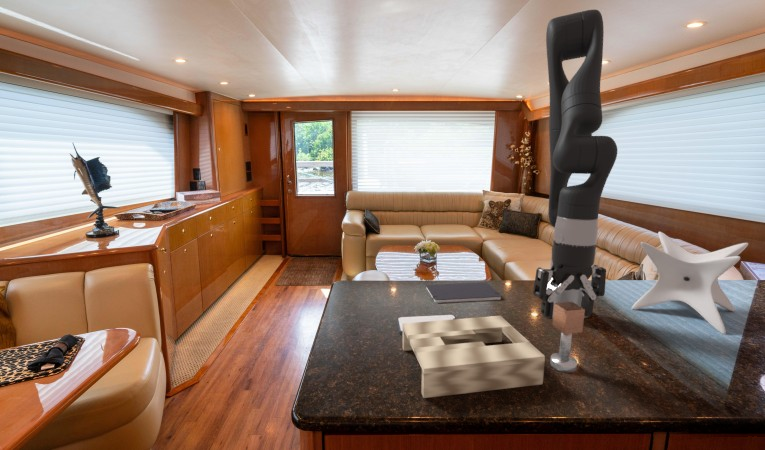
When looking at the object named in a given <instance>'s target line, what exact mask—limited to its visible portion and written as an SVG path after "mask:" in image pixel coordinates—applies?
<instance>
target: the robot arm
mask: <svg viewBox="0 0 765 450" xmlns="http://www.w3.org/2000/svg"><path fill="white" fill-rule="evenodd" d="M604 33H605V32H604V20H603V15H602V13H601V12H600V10H598V9H587V10H583V11H579V12H574V13H569V14H566V15H561V16H557V17H554V18H552V19H550V20H549V22H548V23H547V26H546V33H545V35H546V36H545V37H546V39H545V40H546V41H545V42H546V44H545V45H546V57H547V72H548V73H547V74H548V86H549V117H548V118H549V121H548V125H549V127H548V128H549V137H548V138H549V158H550V159H549V160H550V180H549V181H550V182H549V195H548V196H549V197H548V220H549V223H550V224H549V225H550V226H551V227H553V228H554V230H553V231H554V232H553V243H552V247H551V255H550V256H551V257H550V268H548V269H547V268H542V267H537V268H536V271H535V278H534V286H533V291H532V292H533V293H532V294H533V296H535V297H536V298H538V299H540V300H541V310H540V312H541V315H542V316H543V317H544V318H545V319H547V320H553V312H554V303H559V302H573V303H575V304H577V305H578V306H580V307H582V308H583V309H585V313H584V319H587V318H588V317H591V315H592V313H594V312H593V311H594V304H595V300H596V299H597V298H598V297H604V296H605V292H606V279H607V277H606V276H607V269H606V268H604V267H602V266H600V265H597V264H595V260H596V259H595V258H596V249H597V239H598V235H599V234H598V233H599V231H598V230H599V225H598V224H599V223H598V221H599V220H598V219H599V213H600V204H601V199H602V198H601V197H602V194H603V191H604V188H605V185H606V182H607V180H608V177H609V176H610V174H611V171H612V169H613V167H614V166H615V163H616V160H617V157H618V146H617V143H616V141H615V140H614V139H613V138H612V137H611V136H608V135H593V133H595V132H597V131H598V130H599V129H600V128H601V127H602V123H603V110H602V107H603V106H602V98H601V97H602V96H601V77H602V70H603V69H602V68H603V55H604V54H603V51H604ZM581 58H584V61H583V62H582V64H581V65H580V67H579V68H578V70H576V72H575V73H574V75H573V76H572V78H571V79H570V81H569V79H568V78H567V75H566V74H565V70H564V68H563V67H564V66H563V62H564V61H569V60H574V59H581ZM573 174H577V175H578V174H579V175H580V174H582V175H587V174H589V177H588V178H587V179H586V180H585V181H584V182H583V183H580V184H575V185H570V186H568V184H569V180H570V178H571V176H572V175H573ZM590 278H591V283H590V281H589V279H590Z"/></svg>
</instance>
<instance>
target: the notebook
mask: <svg viewBox="0 0 765 450" xmlns="http://www.w3.org/2000/svg"><path fill="white" fill-rule="evenodd" d="M424 288H426V290H427V292H428V293H429V294H430V296H431V298H432V300H433V301H434V303H437V304H439V303H457V302H458V303H459V302H462V303H463V302H477V301H495V300H501V299H502V297H503V295H502V294H501V293H500V292H499V291H497V290H496V289H495V288H494V287H493V286H492V285H490V284H489V282H488V281H484V282H463V283H462V282H461V283H439V284H425V287H424Z"/></svg>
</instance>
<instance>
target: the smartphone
mask: <svg viewBox="0 0 765 450" xmlns="http://www.w3.org/2000/svg"><path fill="white" fill-rule="evenodd" d="M452 319H458V318H457V317H456V315H454V314H437V315H417V316H416V315H415V316H414V315H413V316H399V317H397V318H396V326H397V331H398V334H399V335H400V336H402V335H403V324H404V323H416V322H428V321H440V320H452Z"/></svg>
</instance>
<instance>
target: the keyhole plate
mask: <svg viewBox="0 0 765 450" xmlns="http://www.w3.org/2000/svg"><path fill="white" fill-rule="evenodd" d="M503 334H504V336H506V338H507V339H509V340H510V341H511V342H512V343H504V344H493V343H500V342H503ZM401 336H402V341H401V342H402V350H403V352H407V351H413V353H414V355H415V357H416V359H417V362H418V363H419V365H420V369H421V386H420V387H421V388H420V389H421V392H420V393H421V395H422V398H423V399H427V398H437V397H445V396H453V395H461V394H470V393H471V394H472V393H479V392H487V391H497V390H504V389H513V388H521V387H530V386H539V385H543V382H544V374H545V362H546V361H545V360H546V356H545V354H543V353H542V352H541V351H540V350H539V349H538V348H536V347H535V346H534V345H533V344H532V342H530V341H529V340H528V339H527V338H526V337H525V336H523V335H522V334H521V333H520V332H519V331H518V330H517V328H514V326H513V325H511V324H510V323H509V322H508V321H507V320H506V319H505V318H503V316H502V315H490V316H480V317H479V316H478V317H466V318H457V319H452V320H440V321H428V322H416V323H404V324H403V335H401ZM489 343H490V345H486V344H489ZM491 343H492V344H493V345H491Z"/></svg>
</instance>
